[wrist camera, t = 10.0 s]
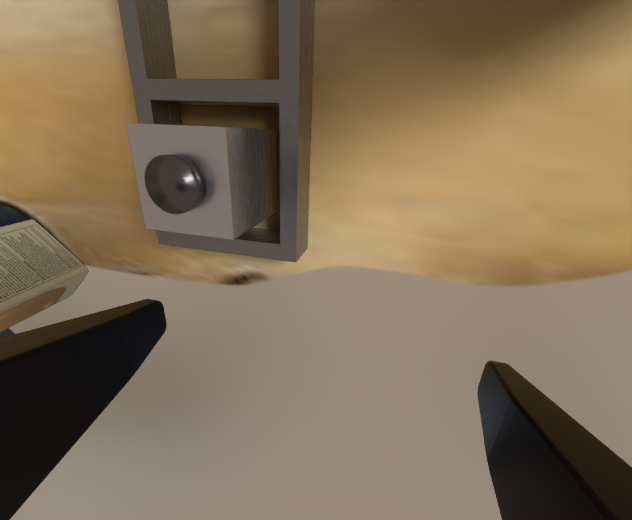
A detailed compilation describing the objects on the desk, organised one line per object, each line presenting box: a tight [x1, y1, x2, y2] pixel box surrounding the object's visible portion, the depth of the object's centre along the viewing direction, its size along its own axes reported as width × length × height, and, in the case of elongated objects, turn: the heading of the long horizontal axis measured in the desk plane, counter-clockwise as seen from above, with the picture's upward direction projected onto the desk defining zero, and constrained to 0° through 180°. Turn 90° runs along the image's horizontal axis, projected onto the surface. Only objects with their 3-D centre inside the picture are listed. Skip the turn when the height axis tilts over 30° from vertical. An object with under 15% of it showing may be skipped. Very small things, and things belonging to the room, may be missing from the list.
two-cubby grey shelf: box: [118, 0, 315, 262], centre depth 17 cm, size 10×18×2 cm, turn 178°
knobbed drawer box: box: [126, 123, 277, 240], centre depth 17 cm, size 5×5×7 cm
